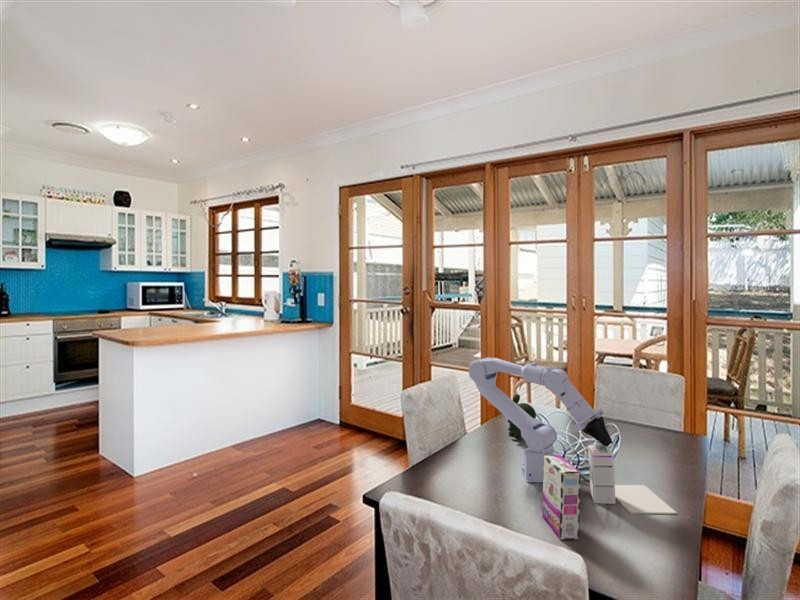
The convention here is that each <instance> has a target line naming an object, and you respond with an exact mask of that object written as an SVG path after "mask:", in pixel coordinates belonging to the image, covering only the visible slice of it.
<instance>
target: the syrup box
mask: <svg viewBox="0 0 800 600" xmlns="http://www.w3.org/2000/svg"><path fill="white" fill-rule="evenodd" d="M587 448H588V449H587V450H588V451H587V453H588V467H589V468H588V470H589V474H588V475H589V491H590V496H591V498H592V501H593V503H595V504H604V505H607V504H608V505H616V498H615V485H616V484H615V466H614V461H615V460H614V453H613V451H612V450H611V447H610V445H608V446H604V445H603V444H593V445H591V444H589V445H588V446H587Z"/></svg>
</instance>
